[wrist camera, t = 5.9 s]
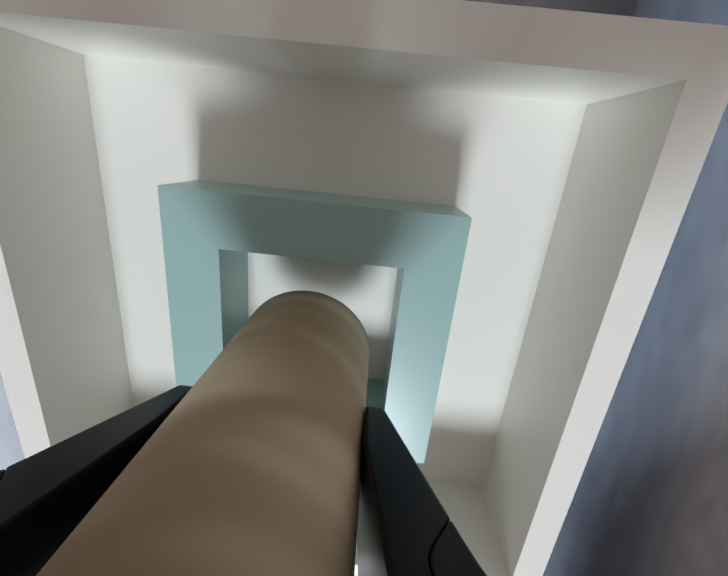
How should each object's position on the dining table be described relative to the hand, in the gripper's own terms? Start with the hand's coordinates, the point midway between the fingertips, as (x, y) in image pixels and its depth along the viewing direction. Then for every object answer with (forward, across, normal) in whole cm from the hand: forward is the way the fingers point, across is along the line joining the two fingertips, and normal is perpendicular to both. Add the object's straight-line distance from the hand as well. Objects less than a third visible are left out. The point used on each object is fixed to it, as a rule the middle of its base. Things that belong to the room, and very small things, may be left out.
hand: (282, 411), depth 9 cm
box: (+6, 0, 0) cm, 6 cm away
